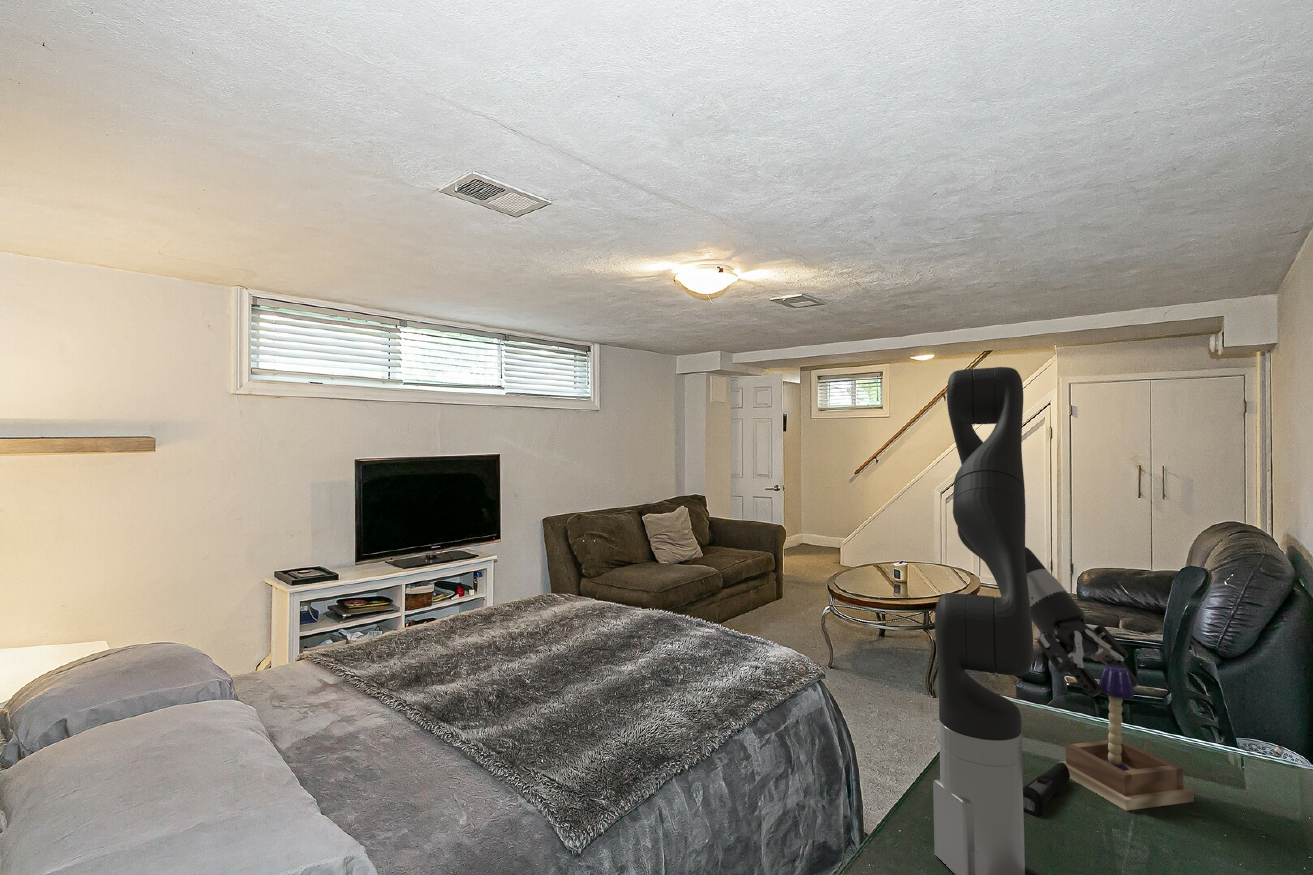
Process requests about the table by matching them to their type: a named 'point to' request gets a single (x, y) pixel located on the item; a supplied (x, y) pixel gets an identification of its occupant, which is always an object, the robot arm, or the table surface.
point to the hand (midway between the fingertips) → (1115, 690)
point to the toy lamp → (1116, 708)
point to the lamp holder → (1127, 776)
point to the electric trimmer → (1044, 789)
